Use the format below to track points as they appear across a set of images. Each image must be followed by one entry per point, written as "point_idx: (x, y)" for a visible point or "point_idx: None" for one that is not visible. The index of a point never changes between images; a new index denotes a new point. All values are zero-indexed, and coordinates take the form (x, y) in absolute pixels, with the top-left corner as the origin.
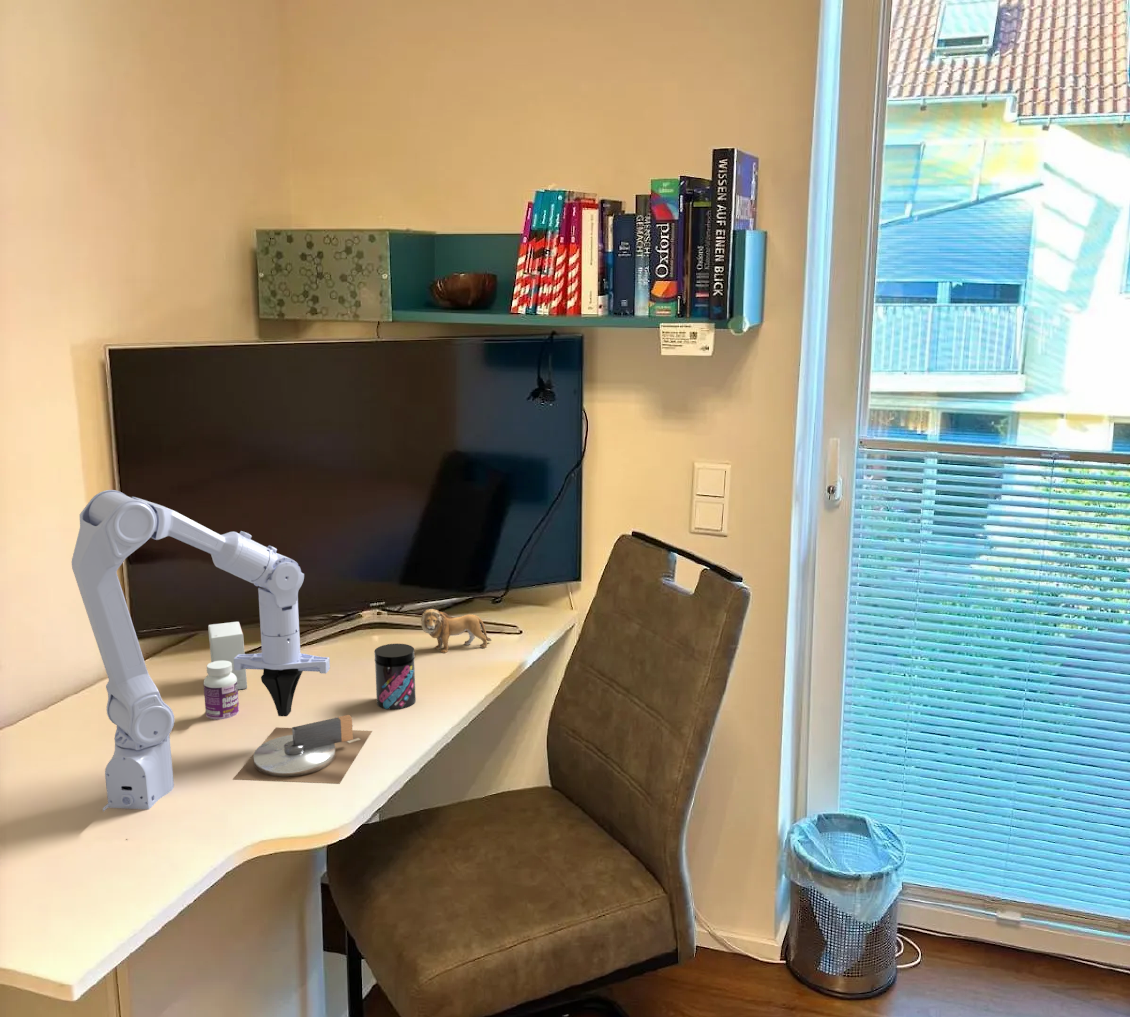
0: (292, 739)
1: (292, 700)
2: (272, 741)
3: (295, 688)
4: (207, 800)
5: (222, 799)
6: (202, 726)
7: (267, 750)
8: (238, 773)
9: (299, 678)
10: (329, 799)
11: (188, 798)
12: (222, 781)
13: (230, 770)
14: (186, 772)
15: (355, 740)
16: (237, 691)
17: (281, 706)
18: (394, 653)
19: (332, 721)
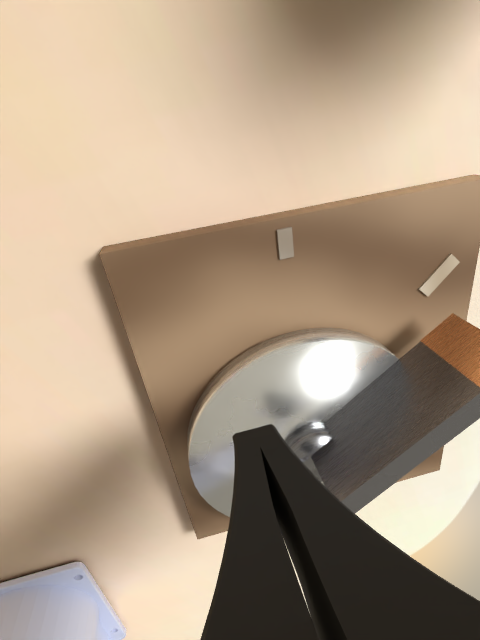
0: (269, 392)
1: (296, 455)
2: (210, 424)
3: (347, 510)
4: (182, 571)
5: (209, 558)
6: None
7: (229, 470)
8: (194, 520)
9: (412, 559)
10: (416, 487)
11: (137, 581)
12: (158, 521)
13: (139, 484)
14: (31, 528)
15: (445, 274)
16: None
17: (279, 526)
18: None
19: (466, 424)
